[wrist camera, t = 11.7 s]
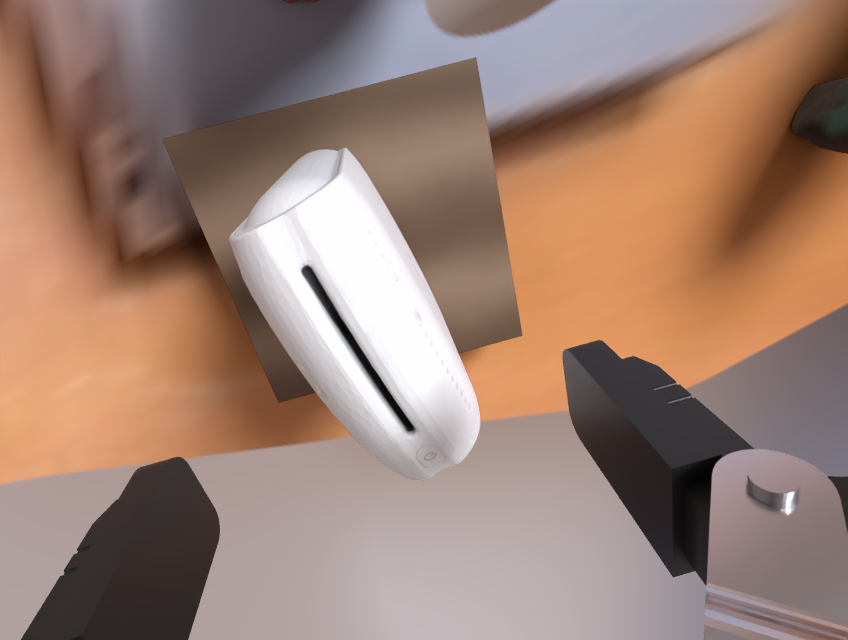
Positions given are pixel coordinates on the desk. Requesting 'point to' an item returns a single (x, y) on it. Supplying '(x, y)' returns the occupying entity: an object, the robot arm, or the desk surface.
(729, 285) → the desk surface
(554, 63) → the desk surface
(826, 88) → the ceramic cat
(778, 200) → the desk surface
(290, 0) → the stacking bear
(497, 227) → the walnut block
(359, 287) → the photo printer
